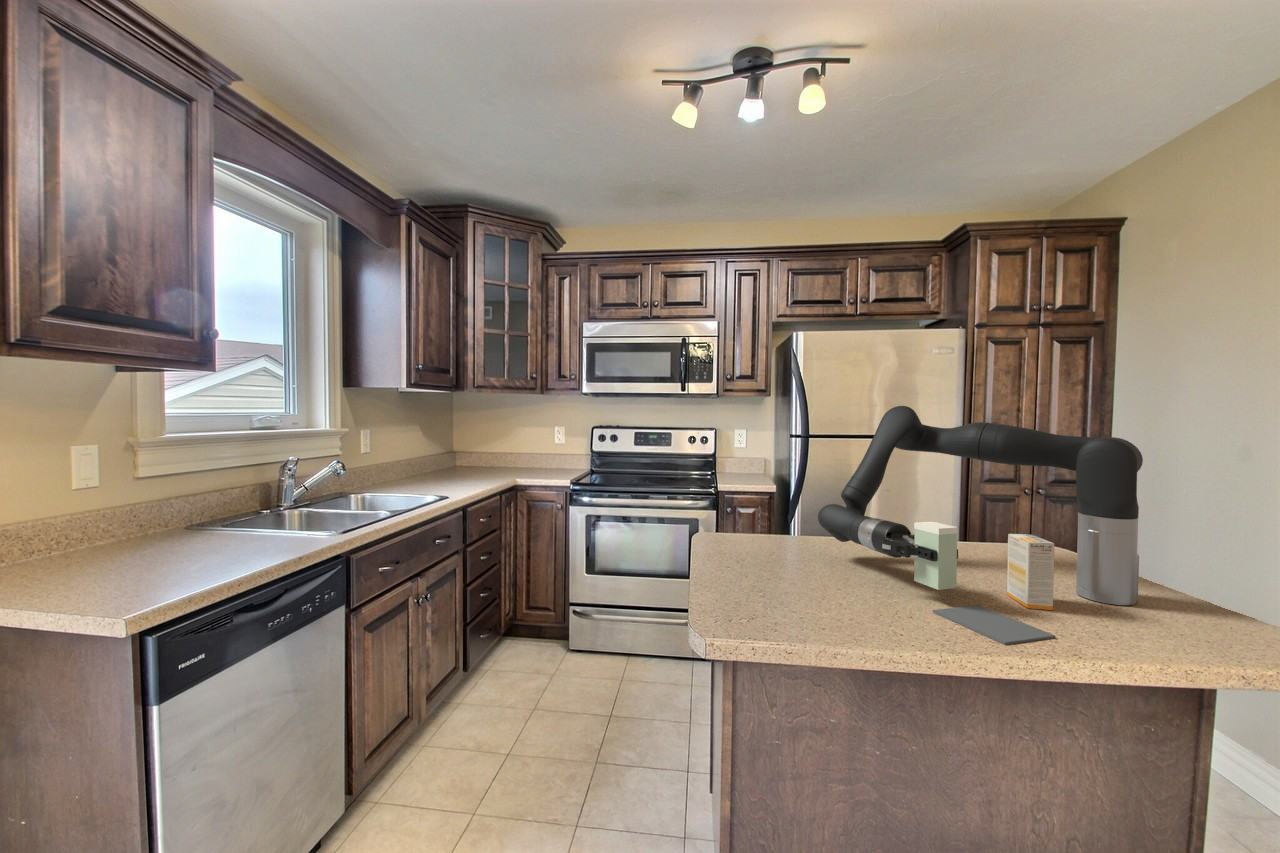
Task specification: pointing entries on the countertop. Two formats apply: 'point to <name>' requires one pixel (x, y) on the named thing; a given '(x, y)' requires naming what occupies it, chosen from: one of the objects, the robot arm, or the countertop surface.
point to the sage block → (945, 544)
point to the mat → (993, 624)
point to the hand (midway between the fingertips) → (946, 555)
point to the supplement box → (1030, 571)
